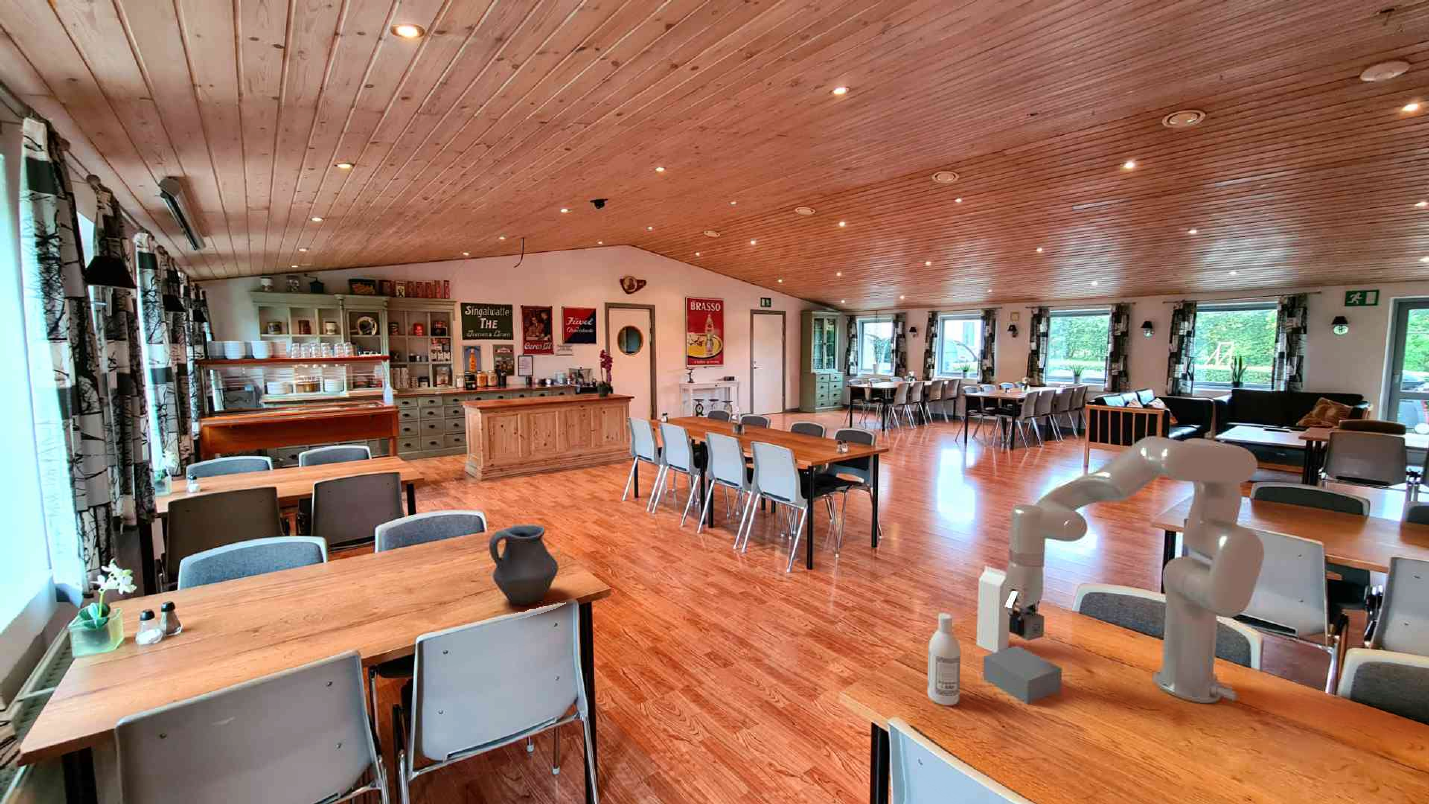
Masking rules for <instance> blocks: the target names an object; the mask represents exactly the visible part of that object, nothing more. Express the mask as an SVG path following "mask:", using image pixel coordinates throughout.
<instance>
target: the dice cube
mask: <svg viewBox="0 0 1429 804" xmlns="http://www.w3.org/2000/svg"><path fill="white" fill-rule="evenodd" d="M1016 610H1017V612H1018V613H1019V610H1020V609H1016ZM1023 620H1024V635H1023V636H1019V635H1017V636H1018V637H1020V638H1022V639H1024V640H1026V641H1028V642H1029V641H1033V640H1037V639H1041V638H1044V635H1045V633H1044V632H1045V631H1044V630H1045V616H1044V615H1043V614H1042V615H1041V614H1040V613H1038V612H1034V611H1031V610H1029V609H1027V608H1025V609H1024V614H1023Z"/></svg>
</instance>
